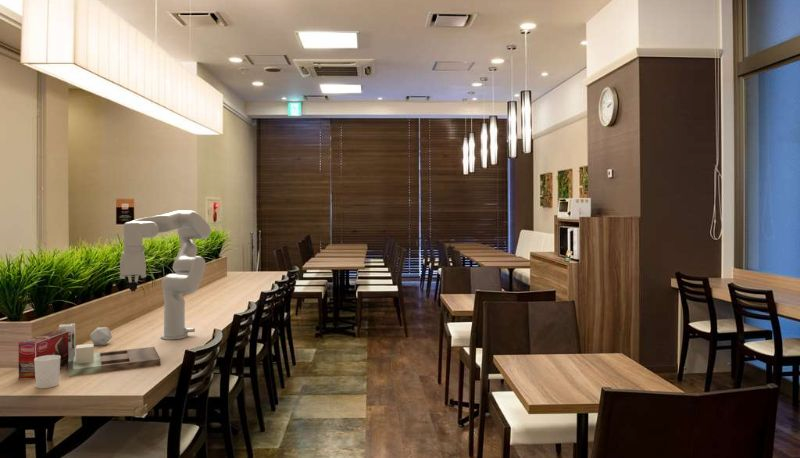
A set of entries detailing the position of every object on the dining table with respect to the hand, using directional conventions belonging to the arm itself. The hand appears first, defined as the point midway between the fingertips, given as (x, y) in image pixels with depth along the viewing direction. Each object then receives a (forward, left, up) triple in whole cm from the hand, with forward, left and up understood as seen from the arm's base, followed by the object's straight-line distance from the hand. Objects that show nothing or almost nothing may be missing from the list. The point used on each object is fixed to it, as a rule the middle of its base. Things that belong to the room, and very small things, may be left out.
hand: (133, 291), depth 239 cm
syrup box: (+25, 0, -27) cm, 37 cm away
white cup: (+30, +38, -27) cm, 56 cm away
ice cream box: (+32, +16, -27) cm, 45 cm away
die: (+12, -22, -27) cm, 37 cm away
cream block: (+19, +18, -25) cm, 36 cm away
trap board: (+8, +17, -27) cm, 33 cm away
